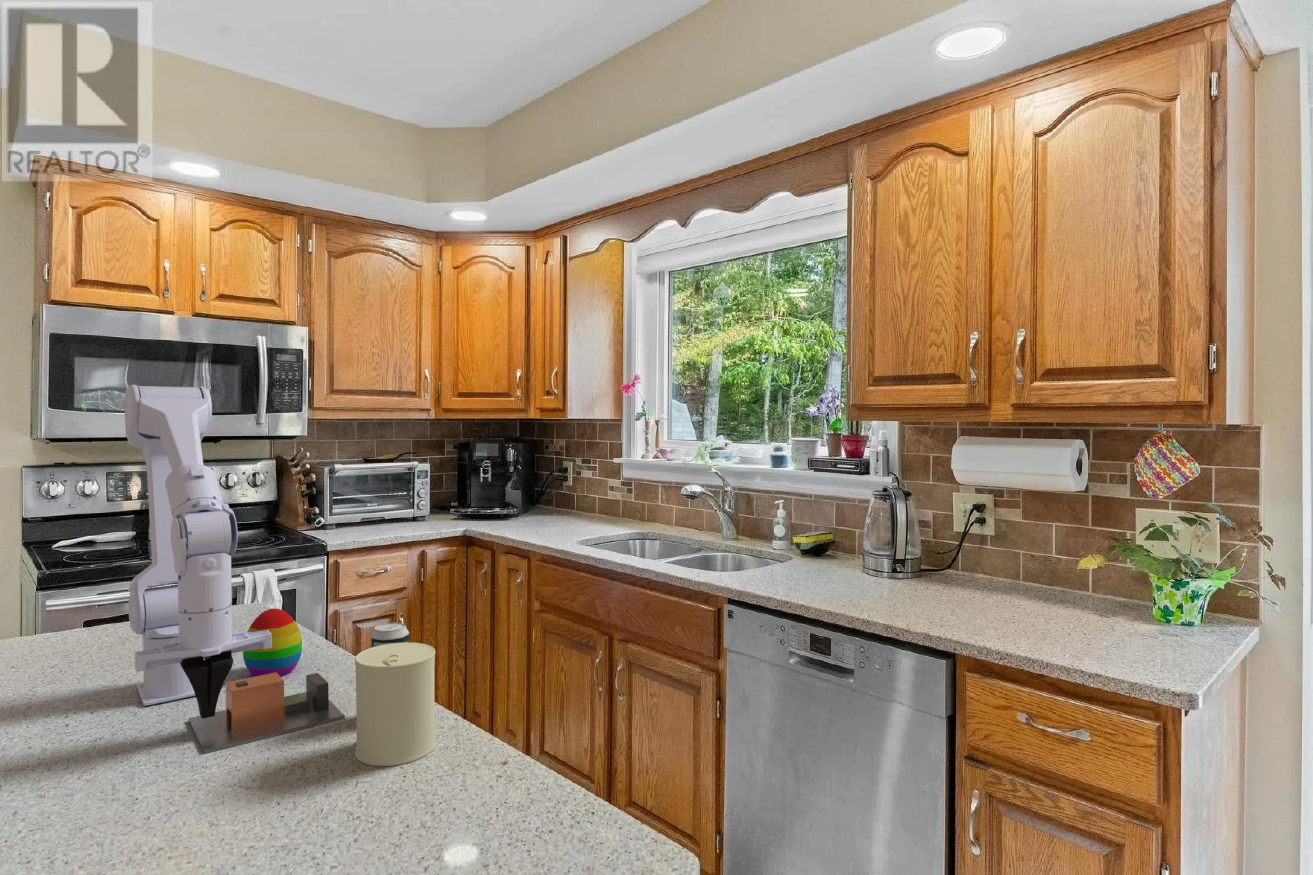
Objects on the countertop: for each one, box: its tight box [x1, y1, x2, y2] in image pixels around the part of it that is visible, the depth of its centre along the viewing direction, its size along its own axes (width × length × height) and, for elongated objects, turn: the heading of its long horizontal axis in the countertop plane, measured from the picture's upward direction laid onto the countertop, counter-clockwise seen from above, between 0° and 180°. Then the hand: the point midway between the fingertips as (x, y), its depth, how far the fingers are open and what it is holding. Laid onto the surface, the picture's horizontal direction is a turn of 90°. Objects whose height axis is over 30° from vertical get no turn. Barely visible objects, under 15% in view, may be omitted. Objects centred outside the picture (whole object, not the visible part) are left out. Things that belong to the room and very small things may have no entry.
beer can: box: [370, 622, 410, 648], centre depth 99 cm, size 5×5×12 cm
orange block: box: [225, 672, 285, 731], centre depth 96 cm, size 4×6×5 cm, turn 130°
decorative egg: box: [242, 607, 303, 677], centre depth 115 cm, size 8×8×10 cm
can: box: [354, 641, 437, 767], centre depth 89 cm, size 9×9×12 cm
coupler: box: [187, 672, 346, 754], centre depth 97 cm, size 12×16×4 cm
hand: (207, 715), depth 93 cm, fingers closed
